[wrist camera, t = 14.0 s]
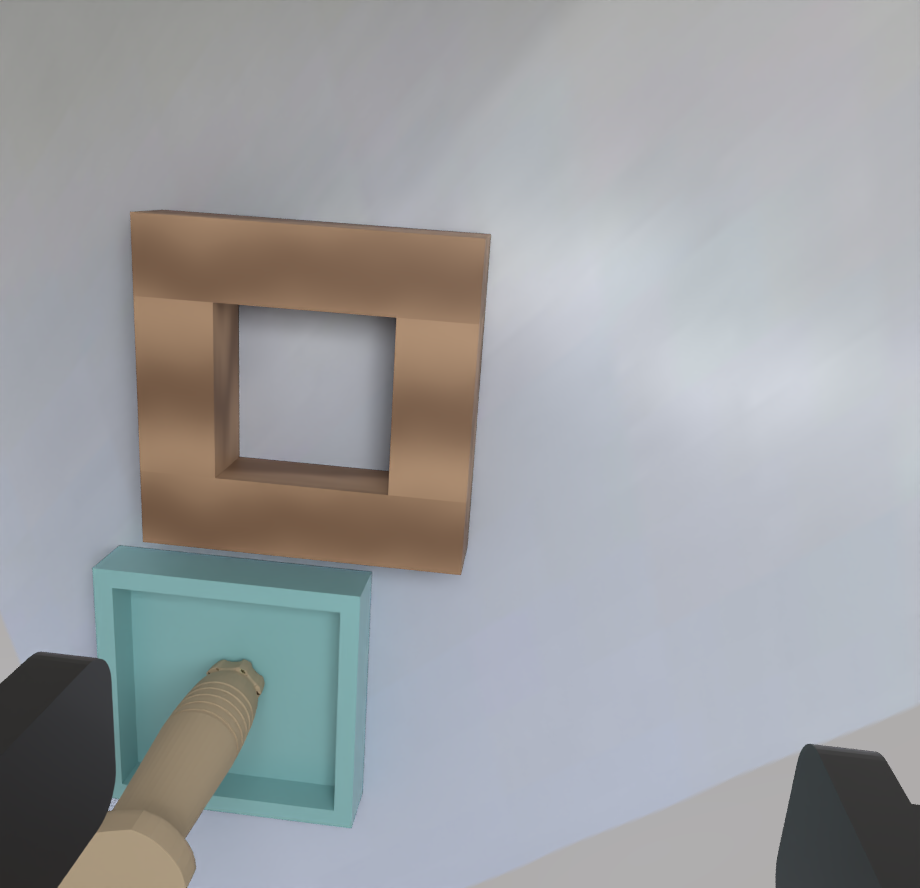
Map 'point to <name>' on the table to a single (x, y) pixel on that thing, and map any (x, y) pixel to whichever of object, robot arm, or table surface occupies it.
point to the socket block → (217, 386)
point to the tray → (272, 655)
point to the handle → (172, 787)
